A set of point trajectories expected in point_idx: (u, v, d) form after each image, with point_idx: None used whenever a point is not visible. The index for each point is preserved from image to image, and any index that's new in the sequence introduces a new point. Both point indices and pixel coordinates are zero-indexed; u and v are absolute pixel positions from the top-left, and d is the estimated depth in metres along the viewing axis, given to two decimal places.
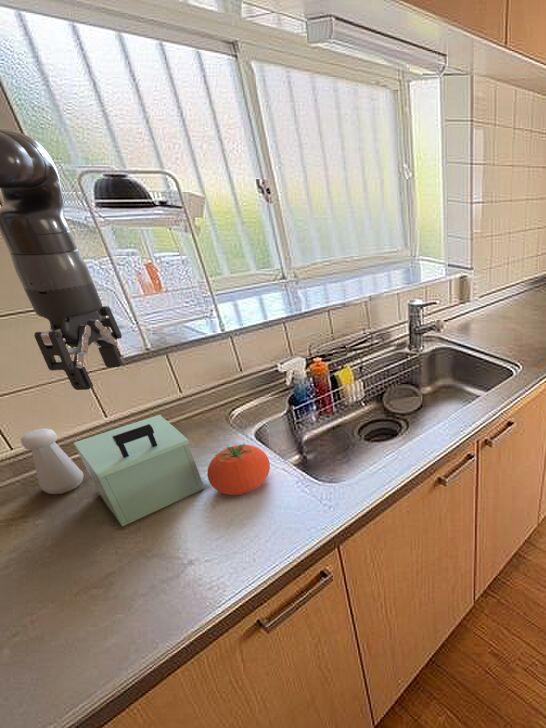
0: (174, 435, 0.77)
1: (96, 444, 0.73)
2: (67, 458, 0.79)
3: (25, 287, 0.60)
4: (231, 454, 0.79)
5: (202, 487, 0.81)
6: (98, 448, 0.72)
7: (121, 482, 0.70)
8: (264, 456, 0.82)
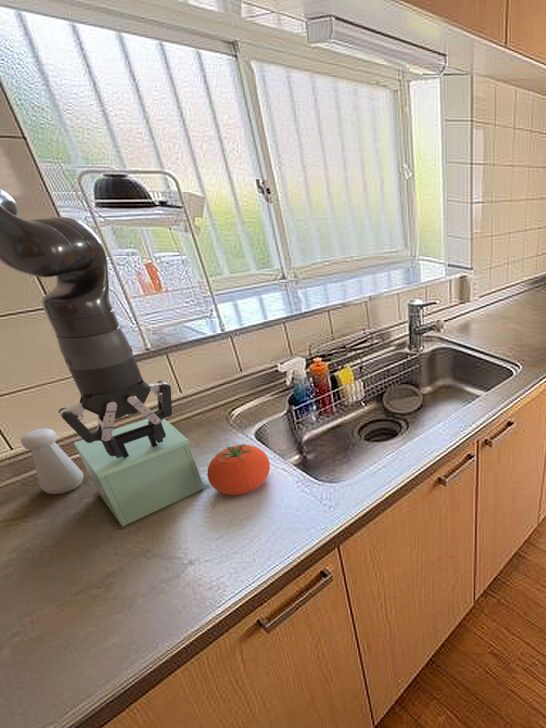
0: (174, 435, 0.77)
1: (96, 444, 0.73)
2: (67, 458, 0.79)
3: None
4: (231, 454, 0.79)
5: (202, 487, 0.81)
6: (98, 448, 0.72)
7: (121, 482, 0.70)
8: (264, 456, 0.82)
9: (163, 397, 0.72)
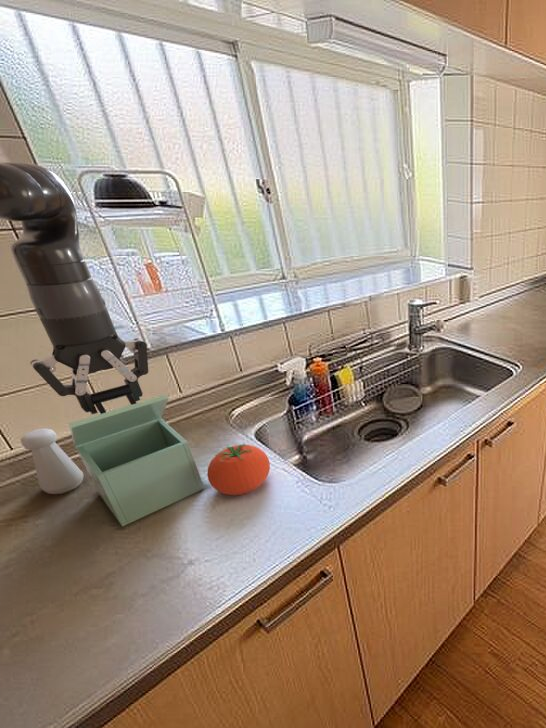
0: None
1: None
2: (67, 458, 0.79)
3: None
4: (231, 454, 0.79)
5: (202, 487, 0.81)
6: None
7: (121, 482, 0.70)
8: (264, 456, 0.82)
9: (139, 354, 0.71)
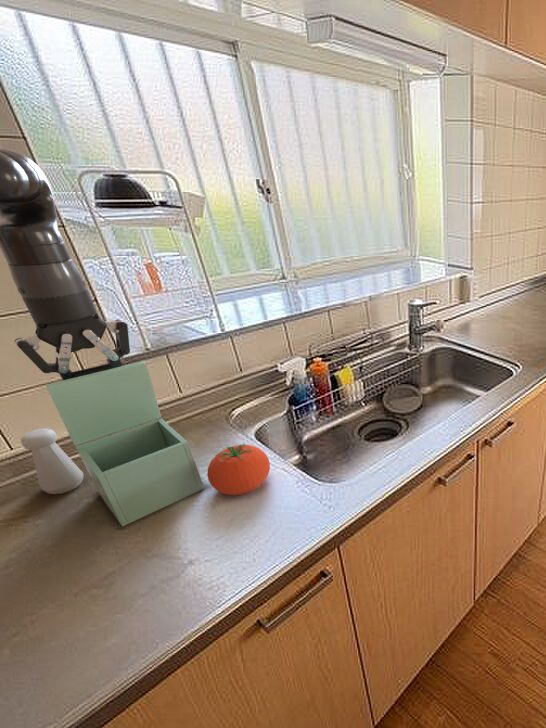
0: None
1: None
2: (67, 458, 0.79)
3: None
4: (231, 454, 0.79)
5: (202, 487, 0.81)
6: None
7: (121, 482, 0.70)
8: (264, 456, 0.82)
9: (120, 334, 0.74)
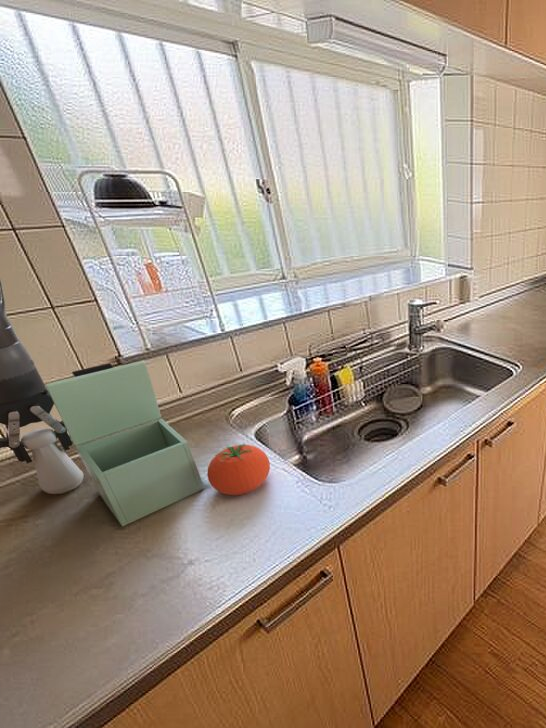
0: None
1: None
2: (67, 458, 0.79)
3: None
4: (231, 454, 0.79)
5: (202, 487, 0.81)
6: None
7: (121, 482, 0.70)
8: (264, 456, 0.82)
9: None
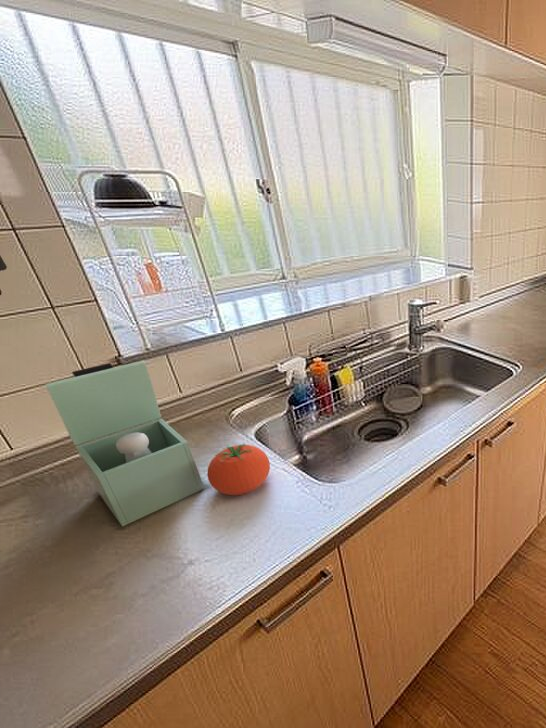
0: None
1: None
2: None
3: None
4: (231, 454, 0.79)
5: (202, 487, 0.81)
6: None
7: (121, 482, 0.70)
8: (264, 456, 0.82)
9: None
